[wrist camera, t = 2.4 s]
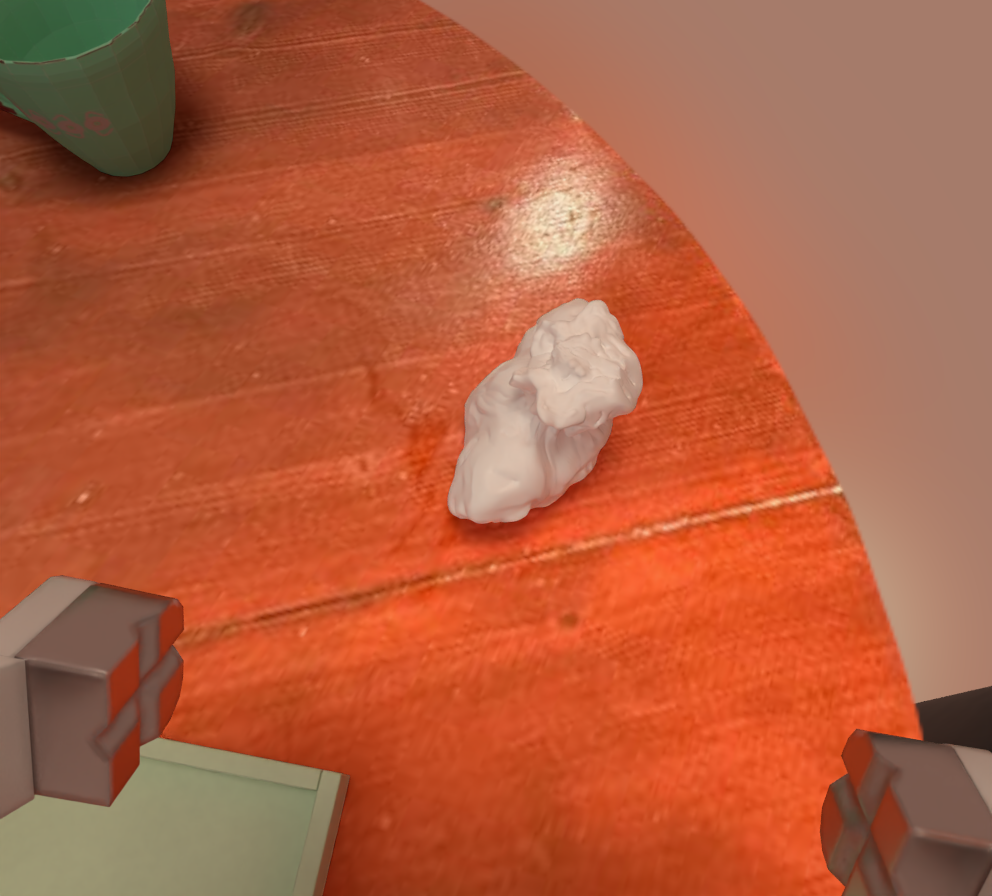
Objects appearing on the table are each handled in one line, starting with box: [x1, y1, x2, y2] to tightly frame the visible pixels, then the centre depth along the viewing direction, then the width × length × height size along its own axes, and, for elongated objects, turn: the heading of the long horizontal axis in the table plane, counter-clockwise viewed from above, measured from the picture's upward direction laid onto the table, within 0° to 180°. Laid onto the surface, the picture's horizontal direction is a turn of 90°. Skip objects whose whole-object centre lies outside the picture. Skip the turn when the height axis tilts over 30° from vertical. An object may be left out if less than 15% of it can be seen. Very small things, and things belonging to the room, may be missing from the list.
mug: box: [0, 0, 175, 176], centre depth 43 cm, size 15×10×10 cm
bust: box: [448, 298, 643, 524], centre depth 37 cm, size 12×8×11 cm
